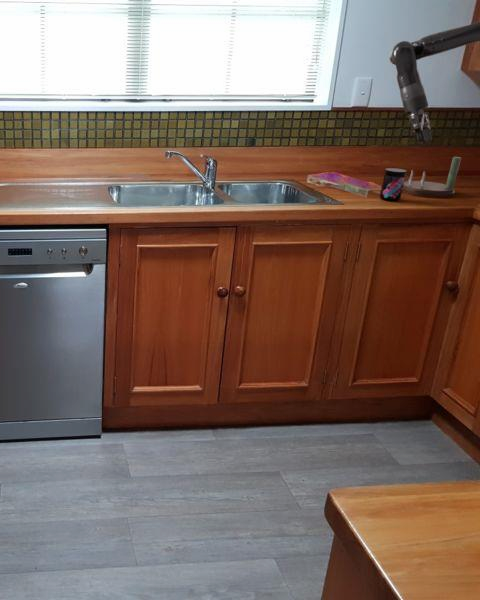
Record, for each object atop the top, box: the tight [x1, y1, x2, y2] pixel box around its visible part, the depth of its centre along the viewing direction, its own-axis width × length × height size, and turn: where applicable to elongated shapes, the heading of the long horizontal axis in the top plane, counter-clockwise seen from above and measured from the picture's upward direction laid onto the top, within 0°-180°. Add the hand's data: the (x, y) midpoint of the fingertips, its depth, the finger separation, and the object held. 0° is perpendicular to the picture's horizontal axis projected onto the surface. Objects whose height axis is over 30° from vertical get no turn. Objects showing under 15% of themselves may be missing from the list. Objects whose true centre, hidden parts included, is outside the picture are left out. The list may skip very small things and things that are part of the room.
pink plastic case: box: [306, 171, 382, 198], centre depth 229 cm, size 30×15×5 cm, turn 20°
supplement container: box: [379, 167, 408, 202], centre depth 213 cm, size 7×7×10 cm
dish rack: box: [403, 156, 462, 193], centre depth 223 cm, size 17×17×12 cm
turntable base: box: [402, 187, 456, 199], centre depth 226 cm, size 18×18×2 cm
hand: (425, 141), depth 220 cm, fingers open, 8 cm apart
